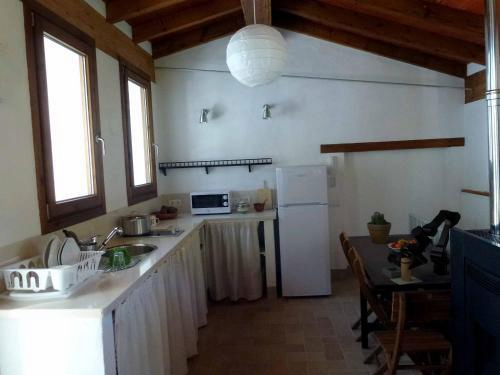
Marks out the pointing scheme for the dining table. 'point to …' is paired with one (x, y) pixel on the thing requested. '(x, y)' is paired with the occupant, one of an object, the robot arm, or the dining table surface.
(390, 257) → the microphone
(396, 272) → the clamp block
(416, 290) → the dining table surface
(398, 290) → the dining table surface
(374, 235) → the potted plant
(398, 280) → the pad
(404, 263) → the tan upright cylinder
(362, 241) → the dining table surface
